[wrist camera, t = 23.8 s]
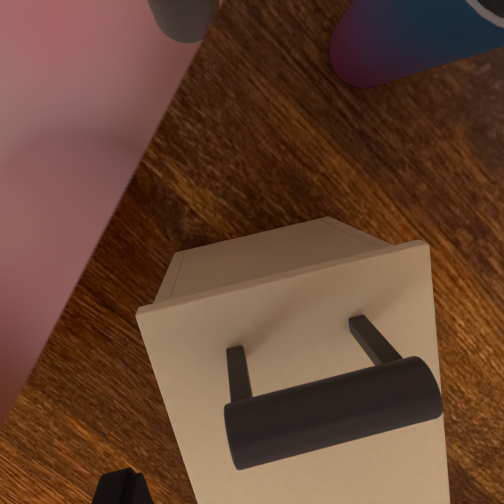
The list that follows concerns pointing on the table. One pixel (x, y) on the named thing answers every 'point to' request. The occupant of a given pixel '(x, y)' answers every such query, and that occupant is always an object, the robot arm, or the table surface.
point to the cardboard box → (263, 256)
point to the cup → (411, 37)
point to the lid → (308, 383)
